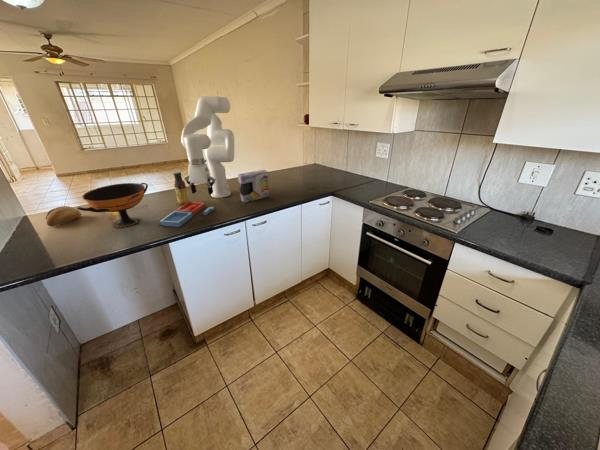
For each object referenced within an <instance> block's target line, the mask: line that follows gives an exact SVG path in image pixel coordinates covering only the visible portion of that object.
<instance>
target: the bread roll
mask: <svg viewBox="0 0 600 450" xmlns="http://www.w3.org/2000/svg"><path fill="white" fill-rule="evenodd" d="M81 217H82V213H81V210H79V209H77V208H75V207H73V206H70V205H63V206H58V207H54V208H52V209H50V210H49V211H48V212H47V213H46V216H45V221H46V225H47V226H49V227H56V226H59V225H63V224H65V223H68V222H71V221H74V220H77V219H80V218H81Z"/></svg>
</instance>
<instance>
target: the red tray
mask: <svg viewBox="0 0 600 450" xmlns="http://www.w3.org/2000/svg"><path fill="white" fill-rule="evenodd" d="M191 205H197V208H195V209H193V210H185V209H187V208H188V207H189V206H191ZM205 207H206V203H205V202H199V201H189V202H187V203H186V204H184V205H180V207H178V208H177V209H176V210H175V211H181V212H192V214H193V216H195V215H197V214H198V213H200V211H202V210H203V209H204V208H205Z"/></svg>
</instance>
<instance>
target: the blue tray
mask: <svg viewBox="0 0 600 450" xmlns="http://www.w3.org/2000/svg"><path fill="white" fill-rule="evenodd" d="M193 217H194V215H193V214H192V212H181V211H176V210H174V211H173V212H171V213H169V214H168V215H166V216H165V217H164V218H162V219H160V220H159V224H160V226H163V227H164V226H165V227H176V228H177V227H178V228H180V227H181V226H182V225H184V224H185V223H187V222H188V221H189V220H190V219H192V218H193Z"/></svg>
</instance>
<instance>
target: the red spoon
mask: <svg viewBox="0 0 600 450" xmlns="http://www.w3.org/2000/svg"><path fill="white" fill-rule="evenodd" d="M195 208H197V205H191V206H189V207H188V208H187V209H185V210H193V209H195Z"/></svg>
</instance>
